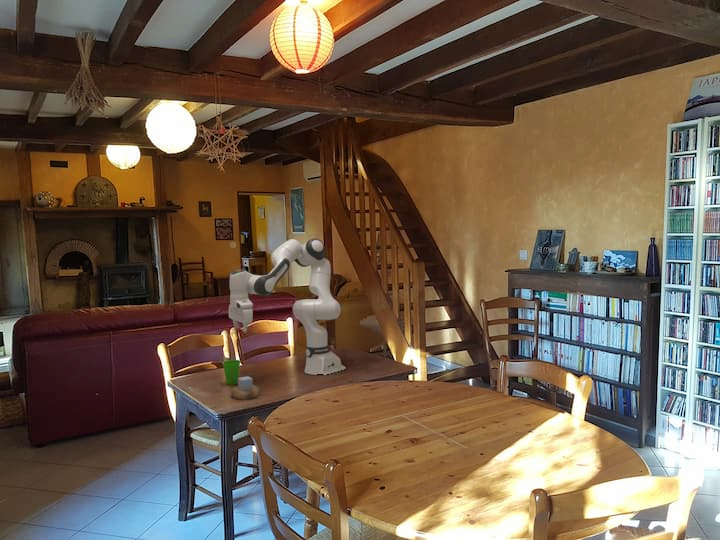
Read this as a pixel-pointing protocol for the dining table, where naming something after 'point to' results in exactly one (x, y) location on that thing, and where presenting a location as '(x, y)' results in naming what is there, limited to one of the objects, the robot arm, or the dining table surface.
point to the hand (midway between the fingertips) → (240, 329)
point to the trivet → (245, 393)
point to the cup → (231, 371)
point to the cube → (245, 383)
